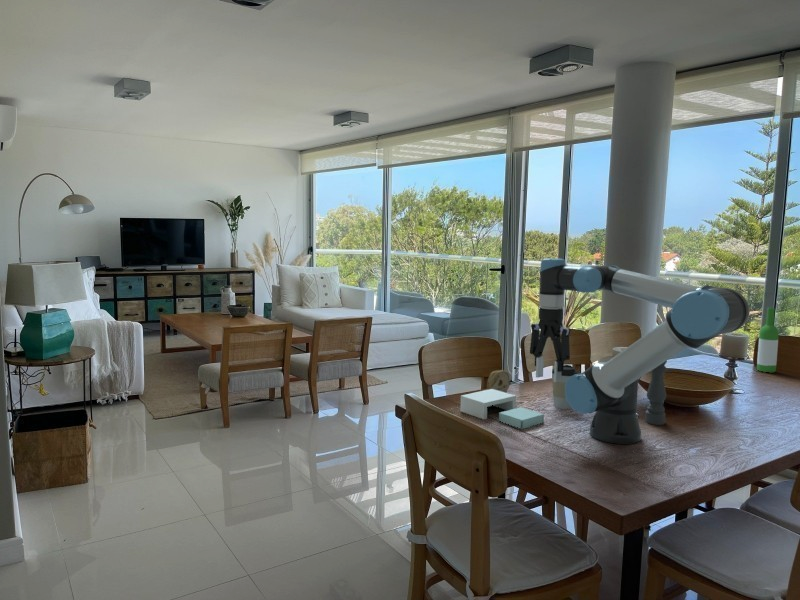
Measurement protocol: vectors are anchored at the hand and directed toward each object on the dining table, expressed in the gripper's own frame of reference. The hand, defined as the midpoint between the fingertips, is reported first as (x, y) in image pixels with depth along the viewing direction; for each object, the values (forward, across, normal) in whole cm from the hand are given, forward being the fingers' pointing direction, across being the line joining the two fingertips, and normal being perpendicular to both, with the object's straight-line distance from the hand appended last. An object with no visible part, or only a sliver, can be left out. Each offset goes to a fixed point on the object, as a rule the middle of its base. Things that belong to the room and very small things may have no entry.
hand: (548, 378), depth 191 cm
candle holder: (+17, -16, -37) cm, 44 cm away
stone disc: (+17, +38, -19) cm, 46 cm away
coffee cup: (+17, +14, -27) cm, 35 cm away
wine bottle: (+17, -8, -153) cm, 154 cm away
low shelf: (+17, +26, 0) cm, 31 cm away
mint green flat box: (+17, +10, 0) cm, 20 cm away
